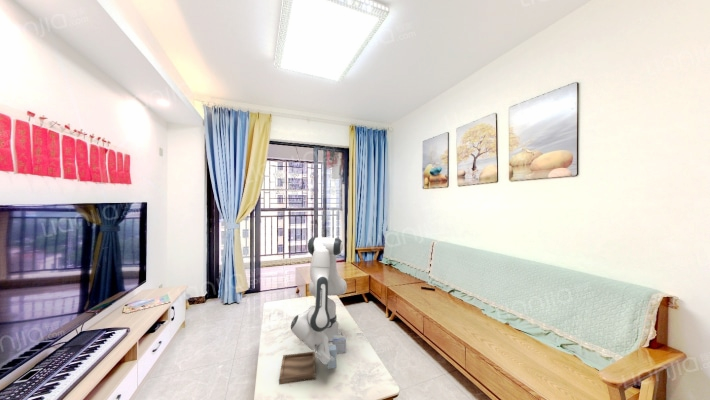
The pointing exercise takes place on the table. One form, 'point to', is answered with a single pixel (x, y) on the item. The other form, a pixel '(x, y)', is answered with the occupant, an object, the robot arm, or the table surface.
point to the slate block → (332, 352)
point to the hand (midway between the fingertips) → (332, 355)
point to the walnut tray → (297, 368)
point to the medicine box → (340, 343)
